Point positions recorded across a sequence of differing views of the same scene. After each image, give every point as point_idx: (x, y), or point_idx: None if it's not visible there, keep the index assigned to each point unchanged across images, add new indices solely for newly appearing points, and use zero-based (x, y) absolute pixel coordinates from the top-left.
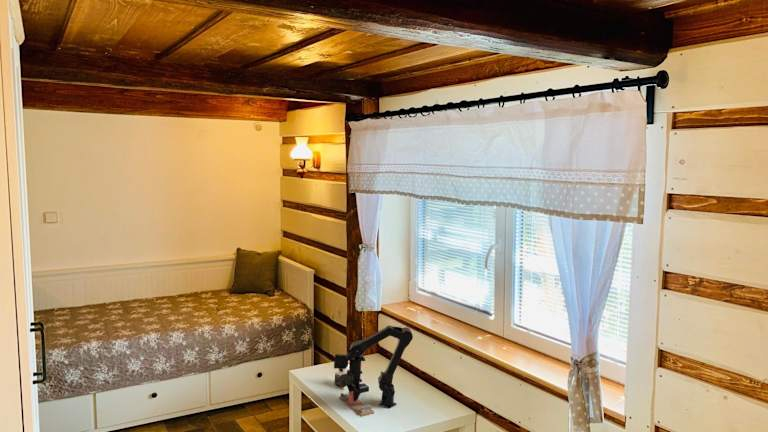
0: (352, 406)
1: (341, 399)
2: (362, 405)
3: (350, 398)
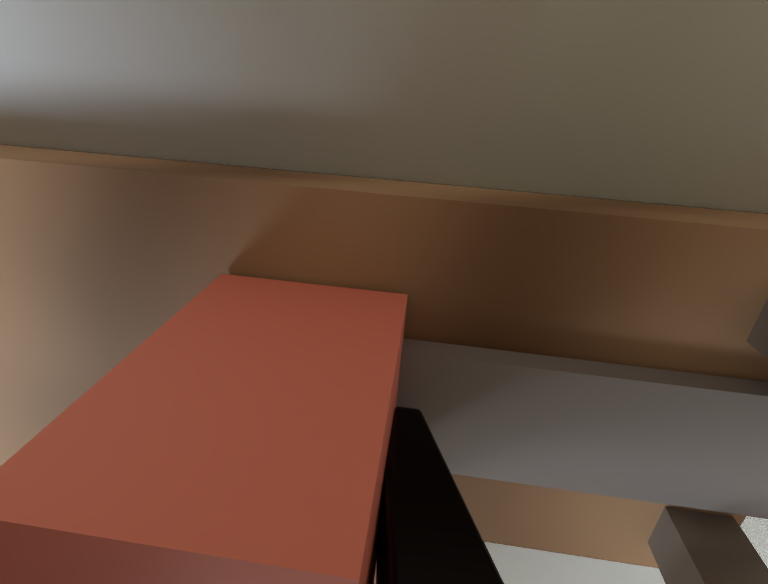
0: (27, 191)
1: (690, 213)
2: (43, 420)
3: (211, 350)
